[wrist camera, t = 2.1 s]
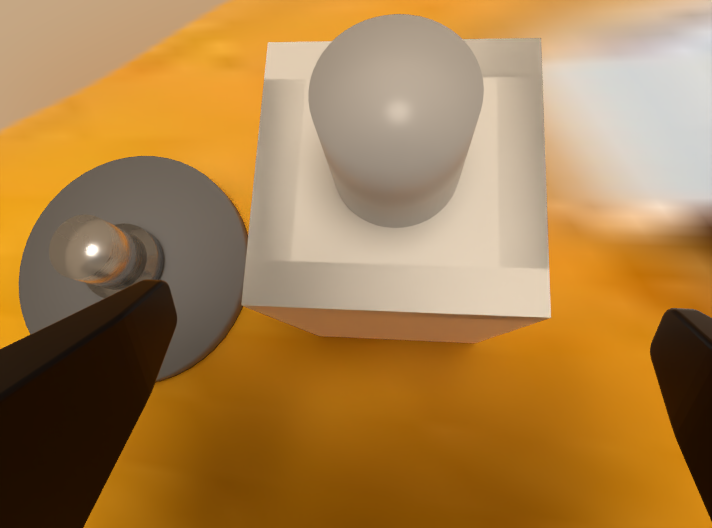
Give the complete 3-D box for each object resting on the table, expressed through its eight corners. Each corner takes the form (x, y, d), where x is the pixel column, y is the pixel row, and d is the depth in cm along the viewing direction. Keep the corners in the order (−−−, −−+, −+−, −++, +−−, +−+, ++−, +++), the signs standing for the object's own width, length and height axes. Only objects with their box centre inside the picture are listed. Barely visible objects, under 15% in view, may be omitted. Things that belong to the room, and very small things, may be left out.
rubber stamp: (474, 343, 19) (617, 295, 7) (318, 335, 20) (177, 279, 7) (474, 194, 21) (592, -84, 8) (328, 191, 21) (223, -69, 9)
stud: (115, 317, 20) (65, 308, 17) (77, 258, 20) (23, 240, 17) (177, 269, 20) (139, 251, 17) (138, 213, 21) (95, 187, 18)
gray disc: (106, 434, 20) (91, 438, 19) (-1, 254, 22) (-20, 249, 21) (296, 286, 20) (291, 282, 19) (173, 125, 23) (163, 114, 22)
